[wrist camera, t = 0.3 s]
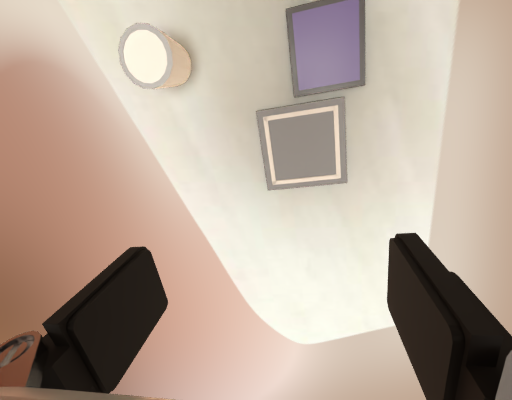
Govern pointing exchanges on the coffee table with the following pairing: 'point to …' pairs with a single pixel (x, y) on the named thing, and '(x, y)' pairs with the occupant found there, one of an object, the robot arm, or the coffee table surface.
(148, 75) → the white short cylinder
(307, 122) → the grey square tile
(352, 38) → the ink pad
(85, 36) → the coffee table surface
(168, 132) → the coffee table surface
